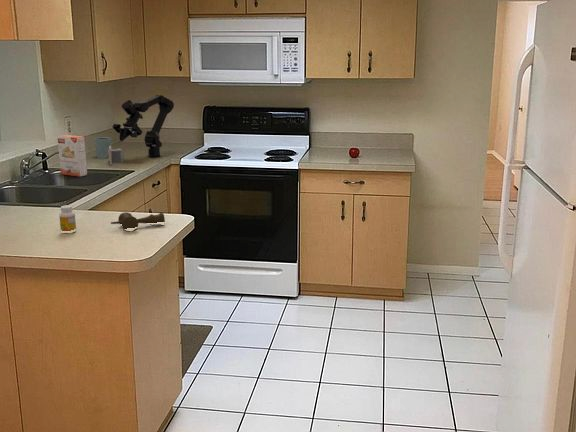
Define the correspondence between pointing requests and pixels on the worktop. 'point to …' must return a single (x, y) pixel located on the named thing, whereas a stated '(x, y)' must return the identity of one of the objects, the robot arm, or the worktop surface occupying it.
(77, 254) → the worktop surface
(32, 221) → the worktop surface
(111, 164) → the pale grey square case
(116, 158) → the camera box
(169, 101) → the robot arm
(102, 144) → the drinking glass
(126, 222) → the kendama
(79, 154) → the cracker box
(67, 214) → the supplement bottle
